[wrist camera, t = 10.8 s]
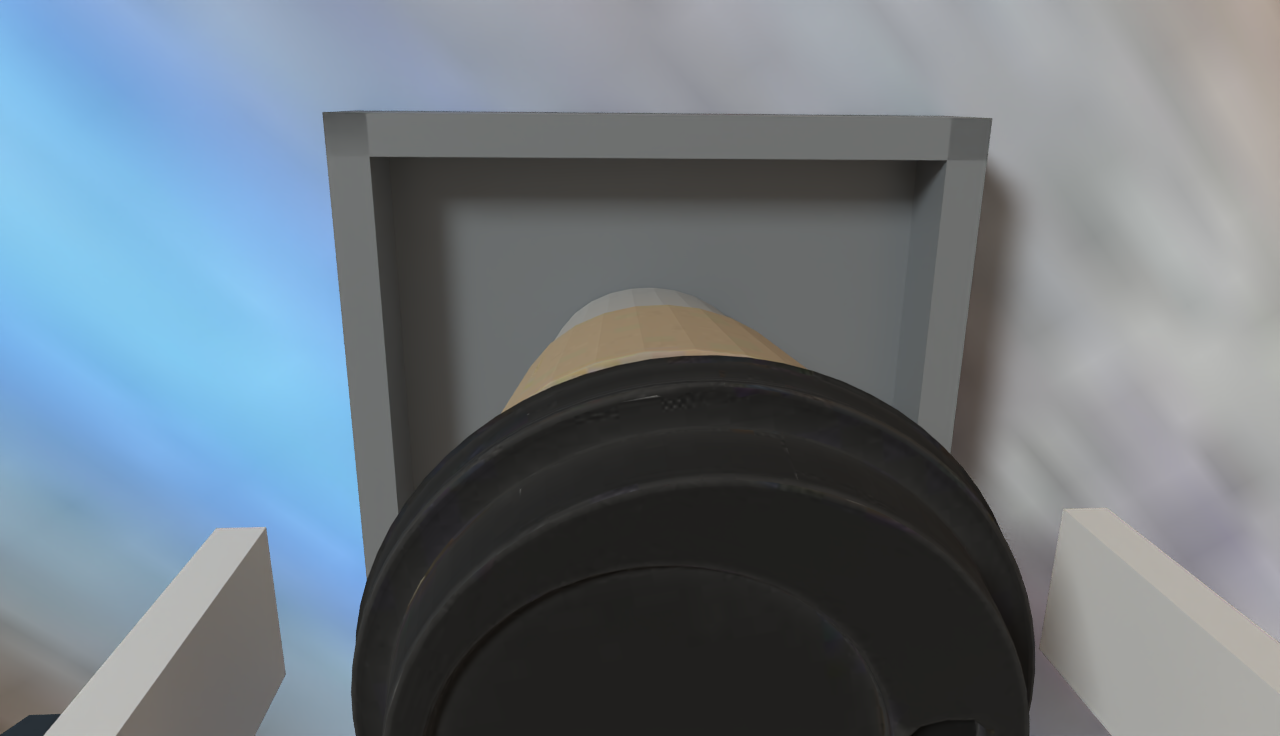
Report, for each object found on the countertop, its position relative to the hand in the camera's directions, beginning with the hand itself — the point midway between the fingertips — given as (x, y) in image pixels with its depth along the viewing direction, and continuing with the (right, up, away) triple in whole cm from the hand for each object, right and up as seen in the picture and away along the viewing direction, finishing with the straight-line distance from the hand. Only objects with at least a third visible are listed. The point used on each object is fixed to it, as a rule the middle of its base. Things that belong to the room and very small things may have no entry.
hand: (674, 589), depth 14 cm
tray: (0, +3, +11) cm, 12 cm away
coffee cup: (0, +3, +11) cm, 11 cm away
